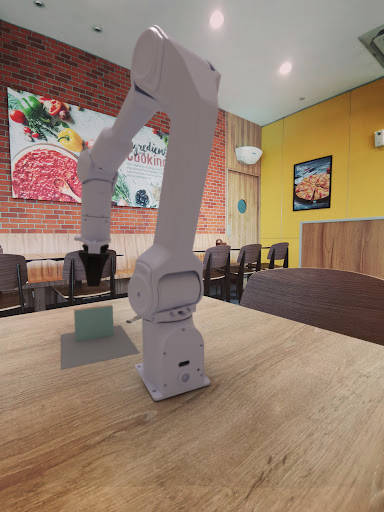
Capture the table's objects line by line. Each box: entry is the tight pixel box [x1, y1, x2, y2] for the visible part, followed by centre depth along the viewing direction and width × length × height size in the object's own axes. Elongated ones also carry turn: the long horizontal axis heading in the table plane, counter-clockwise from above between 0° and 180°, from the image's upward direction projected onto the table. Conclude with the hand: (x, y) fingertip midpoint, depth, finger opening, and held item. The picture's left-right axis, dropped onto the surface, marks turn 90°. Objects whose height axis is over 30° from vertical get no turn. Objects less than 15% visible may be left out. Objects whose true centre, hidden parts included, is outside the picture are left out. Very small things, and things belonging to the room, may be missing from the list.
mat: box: [60, 324, 141, 371], centre depth 48 cm, size 16×12×1 cm
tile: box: [73, 304, 114, 342], centre depth 51 cm, size 1×7×6 cm, turn 117°
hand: (94, 280), depth 55 cm, fingers open, 7 cm apart
